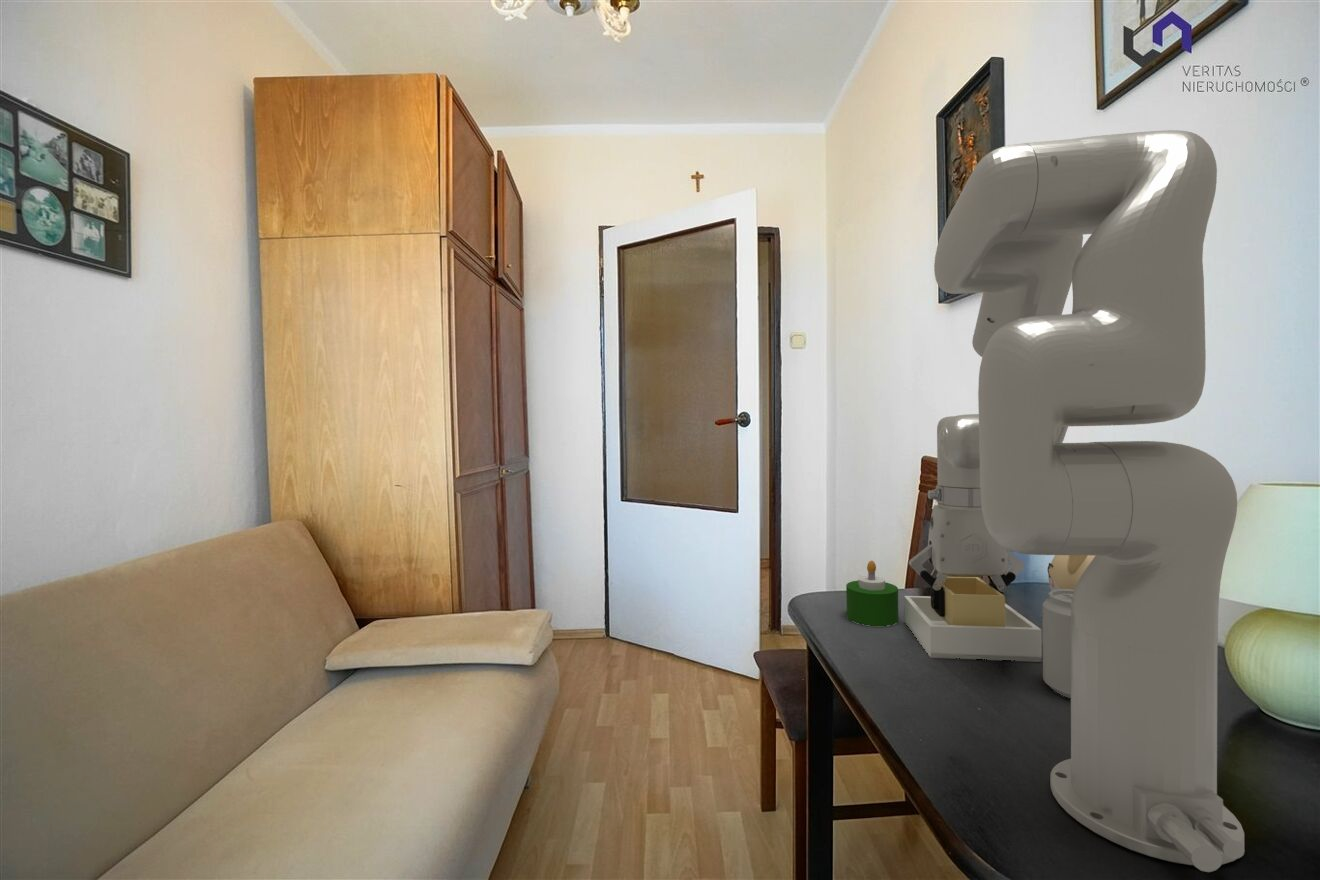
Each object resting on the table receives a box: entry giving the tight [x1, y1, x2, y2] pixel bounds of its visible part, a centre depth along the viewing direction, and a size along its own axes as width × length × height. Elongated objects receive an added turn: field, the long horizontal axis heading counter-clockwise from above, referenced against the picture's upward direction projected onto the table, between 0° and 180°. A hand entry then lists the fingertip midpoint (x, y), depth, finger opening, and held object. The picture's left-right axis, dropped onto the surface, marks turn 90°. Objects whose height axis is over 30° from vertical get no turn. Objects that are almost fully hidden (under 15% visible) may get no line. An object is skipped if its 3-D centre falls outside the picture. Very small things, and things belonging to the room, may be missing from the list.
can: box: [1042, 589, 1074, 699], centre depth 71 cm, size 8×8×12 cm
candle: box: [845, 560, 899, 626], centre depth 98 cm, size 8×8×10 cm
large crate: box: [903, 595, 1043, 663], centre depth 88 cm, size 14×14×4 cm
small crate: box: [941, 576, 1006, 627], centre depth 88 cm, size 10×7×5 cm
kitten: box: [1046, 555, 1096, 591], centre depth 91 cm, size 15×10×15 cm
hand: (966, 613), depth 88 cm, fingers closed on small crate, 7 cm apart
